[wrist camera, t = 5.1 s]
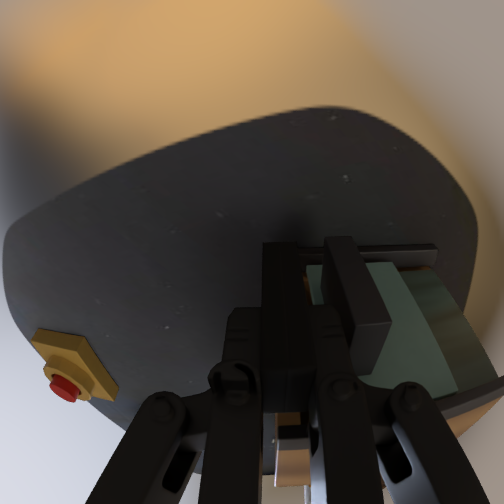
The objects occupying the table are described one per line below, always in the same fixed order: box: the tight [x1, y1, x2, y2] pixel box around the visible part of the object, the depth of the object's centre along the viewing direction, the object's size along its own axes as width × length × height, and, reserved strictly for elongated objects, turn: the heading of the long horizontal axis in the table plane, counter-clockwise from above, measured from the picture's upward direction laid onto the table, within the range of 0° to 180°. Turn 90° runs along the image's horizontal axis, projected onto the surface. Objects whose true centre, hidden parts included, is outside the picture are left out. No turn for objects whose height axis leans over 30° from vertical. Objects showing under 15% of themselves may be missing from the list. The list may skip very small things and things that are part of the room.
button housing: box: [31, 329, 119, 401], centre depth 26 cm, size 10×8×4 cm
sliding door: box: [306, 236, 458, 401], centre depth 12 cm, size 4×6×10 cm, turn 93°
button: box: [49, 374, 80, 402], centre depth 23 cm, size 4×4×2 cm
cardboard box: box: [275, 244, 504, 487], centre depth 15 cm, size 12×12×12 cm
